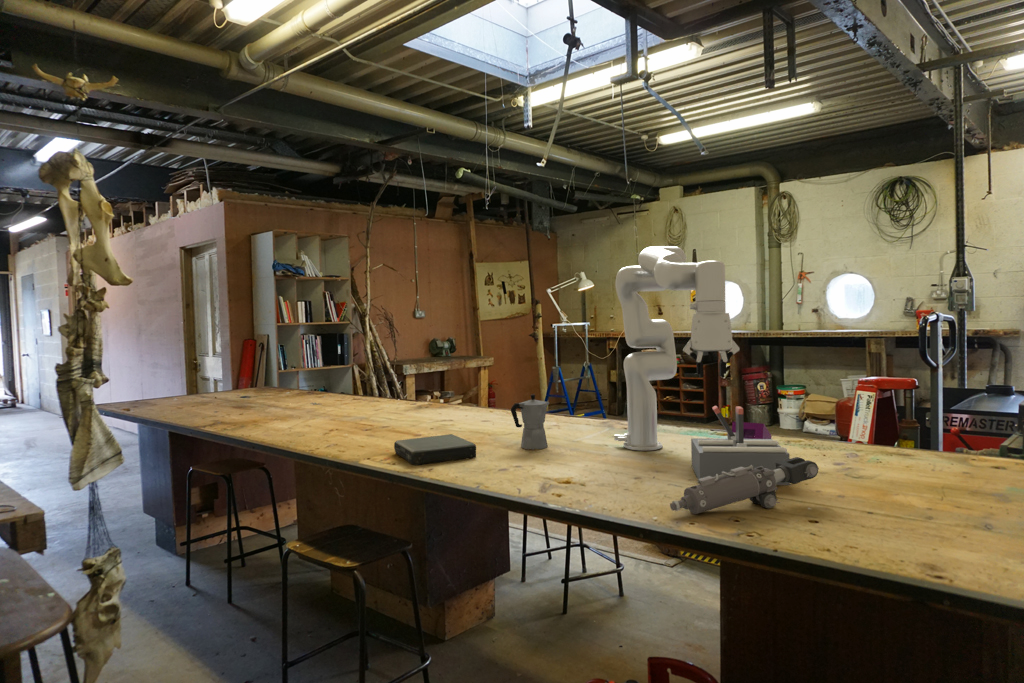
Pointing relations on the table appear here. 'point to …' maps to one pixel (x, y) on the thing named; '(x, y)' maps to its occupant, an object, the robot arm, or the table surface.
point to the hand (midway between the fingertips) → (711, 376)
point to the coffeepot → (532, 423)
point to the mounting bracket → (753, 430)
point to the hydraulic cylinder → (744, 485)
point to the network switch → (434, 449)
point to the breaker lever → (739, 425)
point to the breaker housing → (734, 453)
